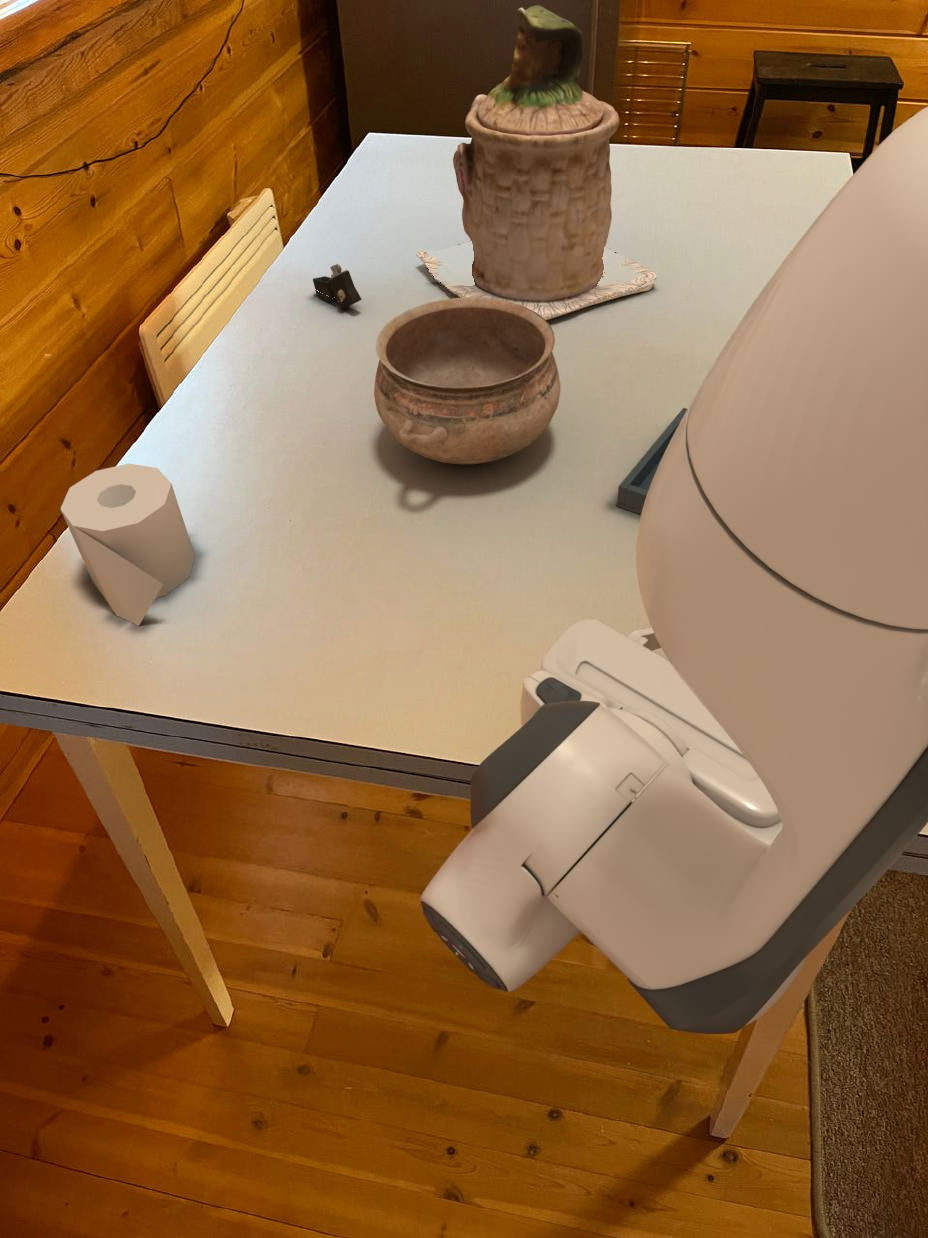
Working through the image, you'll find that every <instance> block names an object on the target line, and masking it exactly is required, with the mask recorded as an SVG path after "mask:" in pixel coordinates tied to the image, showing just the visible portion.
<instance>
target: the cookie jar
mask: <svg viewBox="0 0 928 1238" xmlns="http://www.w3.org/2000/svg"><path fill="white" fill-rule="evenodd" d="M516 16H517V18H518V21H519V27H518V30H517V35H516V41H515V46H514V52H513V61H512V64H511V70H510V71H511V72H510V75H509V76H507V77H506V78H505V79H504V80H503V81H502V82H500V83H499V84H497V85H496V86H495V87H494V88H492V89H491V90H490V91H489V93H488V94H487V95H486V94H478V95H476V96H475V98H474V99H473V101H472V103H471V105H470V109H469V111H468V113H467V114H466V116H465V121H464V125H465V129H466V131H467V133H468V134H469V135H470V137H471V139H470V142H469V143H466V142H461V143H460V144H458V145H457V147H456V148H457V149H456V150H455V152H454V154H453V158H452V163H453V164H452V165H453V169H454V173H455V178H456V183H457V189H458V191H459V193H460V195H461V197H462V200H463V201H462V202H463V203H462V208H461V220H462V226H463V230H464V233H465V235H467V237H468V239H470V241H472V244H473V251H474V261H473V264H472V276H473V278H474V282H475V285H473V286H464V285H452V284H451V285H446V286H445V285H444V284H441V283H440V282H439V281H443V280H437V279H435V278H434V277H433V276H432V275H431V274H430V276H431V277H432V278H433V279H434V280H435V281H436V282H437V283H439V284H441V286H443V287H445V288H446V287H447V288H446V289H447V290H448V291H449V292H451V293H452V294H454V295H455V296H457V298H462V297H463V298H469V297H474V298H490V299H497V300H503V301H507V302H512V303H515V304H518V305H521V306H524V307H526V308H528V309H530V310H532V311H534V312H536V313H537V314H539V315H540V316H541V317H543V318H544V319H545V320H546V321H547V320H552V319H554V318H557V317H560V316H563V315H566V314H570V313H572V312H574V311H579V310H580V309H583V308H586V307H589V306H592V305H598V304H600V303H603V302H606V301H610V300H614V299H617V298H621V297H625V296H630V295H634V294H638V293H642V292H647V291H650V290H651V289H652V288H653V285H654V283H652V284H650V285H647V286H645V287H641V286H642V285H644V284H646V283H648V282H652V280H655V279H656V280H657V278H658V275H657V273H656V272H655V271H654V270H651V269H650V268H648V267H644V266H643V265H641V264H640V263H638V262H636V261H634V260H630V259H629V258H627V257H626V258H625V259H626V260H624V259H623V258H622V259H623V262H624V263H622V262H621V263H622V264H621V265H622V266H634V267H636V268H634V269H636V270H635V271H637V272H638V274H639V272H640V273H641V274H640V276H639V275H638V276H639V277H638V278H636V279H634V280H631V281H629V282H627V281H626V282H625V283H624V282H621V283H619V284H618V283H616V284H611V285H604V286H603V285H602V286H599V285H597V284H598V282H599V281H600V279H601V277H602V278H603V277H604V276H602V275H603V270H604V264H603V259H602V257H603V253H604V247H605V246H606V245H607V241H608V238H609V233H610V231H611V230H610V229H611V225H612V219H613V211H612V205H611V201H612V191H613V190H612V189H613V187H612V170H611V164H610V163H611V162H610V157H611V145H610V139H611V137H612V136H613V135H614V134H615V133H616V132H617V130H618V128H619V125H620V116H619V114H618V112H617V110H615V108H614V107H613V106H612V105H610V104H609V103H607V102H605V101H602V100H599V99H597V98H596V97H595V96H593V95H592V94H590V93H589V92H586V91H584V90H582V89H581V87H580V86H579V84H578V83H577V80H578V78H579V76H580V72H581V68H582V64H583V61H584V57H585V53H584V47H585V43H584V34H583V32H582V30H580V28H579V27H578V26H576V25H574V23H573V22H572V21H569V20H568V19H565V18H563V17H561V16H559V15H557V14H556V13H554V12H553V11H550V10H548V9H546V8H545V7H544V6H541V5H539V4H536V5H532V6H529V7H528V8H526V9H524V8H523V7H519V8H518V9H517V11H516ZM429 255H430V254H427V252H425V251H418V252H417V253H416V256H417V257H418V258H419V259H420V260H421V262H422V263H423V264H424V263H425V264H424V265H425V267H426V269H427V268H428V269H429V270H430V272H431V273H432V274H434V275H435V277H438V276H437V275H439V274H437V273H438V271H437V270H436V269H438V268H436V267H438V266H443V265H442V264H441V263H443V262H441V261H439V260H436V259H437V258H436V257H432V256H429ZM628 259H629V260H628ZM623 264H624V265H623ZM632 268H633V267H632ZM637 268H638V269H637ZM428 269H427V270H428ZM638 270H640V271H638ZM430 272H429V273H430ZM604 273H605V272H604ZM636 275H637V274H636ZM634 276H635V275H634ZM636 277H637V276H636ZM633 278H634V277H633ZM638 279H639V280H638ZM656 280H655V281H656ZM442 283H443V282H442ZM446 284H447V283H446ZM597 286H598V287H597ZM638 287H641V288H639V289H637V288H638ZM635 288H636V289H637V290H633V291H629V290H631V289H635ZM627 291H629V292H627ZM625 292H627V293H625ZM455 293H456V294H455ZM623 293H624V294H623ZM620 294H621V295H620ZM459 295H460V296H461V297H460V296H459ZM615 295H617V296H615ZM612 296H614V297H612ZM609 297H610V298H609Z"/></svg>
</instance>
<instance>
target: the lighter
mask: <svg viewBox="0 0 928 1238" xmlns="http://www.w3.org/2000/svg"><path fill="white" fill-rule="evenodd" d="M329 268H330V270H331V272H332V273H331V275H330V276H325V275H324V276H319V277H314V278H312V282H313V286H314V290H315V289H316V290H318V291H319V292H318V291H316V290H315V293H316V297H318V298H319V299H321V300H322V301H326V302H332V301H334V300H336V302H337V304H338V306H339V308H340V310H341V311H342V310H344V309H347V308H348V307H350V306H353V305H354V304H356V303H358V302H360V301H362V300H363V299H362V297H361V295H360V294H359V291H358V290H357V288H356V286H355V284H354V281H353V278H352V275H351V272H350V271H349V270H348V269H345V270H342V267H341V265H340V264H338V263H336V264H334V265H332V266H330V267H329ZM320 292H321V293H320ZM322 293H323V294H322ZM326 295H328V296H329V297H328V296H326ZM334 297H335V298H334ZM332 298H333V299H332ZM338 301H339V302H338Z"/></svg>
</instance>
